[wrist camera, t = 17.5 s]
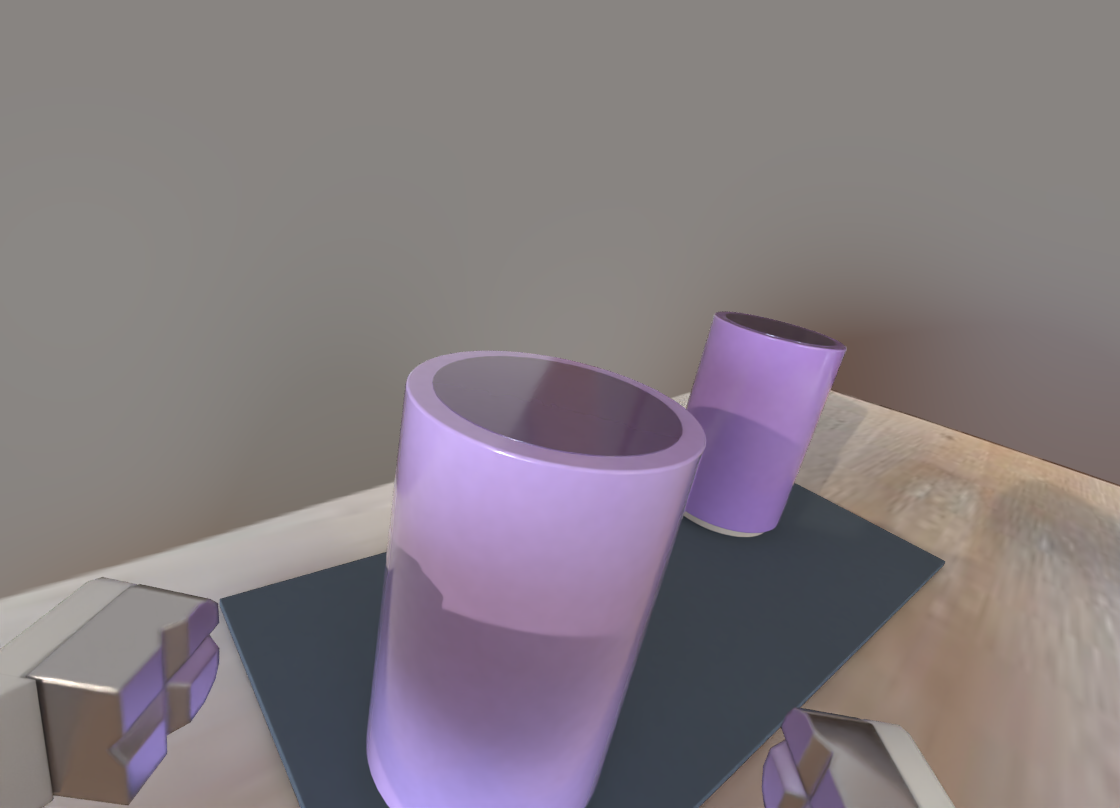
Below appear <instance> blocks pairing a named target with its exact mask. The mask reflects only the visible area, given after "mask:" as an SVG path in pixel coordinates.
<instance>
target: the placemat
mask: <svg viewBox="0 0 1120 808" xmlns="http://www.w3.org/2000/svg"><path fill="white" fill-rule="evenodd" d="M386 553H387V552H385V553H381V554H378V555H374V556H371V557H367V558H364V559H360V560H357V561H353V562H350V563H346V564H342V565H339V566H335V567H332V568H328V569H325V570H321V571H318V572H314V573H311V574H307V575H303V576H300V577H296V578H293V579H289V580H286V581H282V582H279V583H275V584H271V585H268V586H264V587H261V588H257V589H254V590H250V591H247V592H243V593H240V594H236V595H232V596H229V597H225V598H222V599H220V608H221V610H222V613H223V615H224V618H225V620H226V623H227V625H228V628H229V630H230V633H231V635H232V638H233V640H234V643H235V645H236V648H237V650H238V653H239V655H240V658H241V660H242V663H243V665H244V668H245V670H246V673H247V675H248V678H249V680H250V683H251V685H252V688H253V690H254V693H255V695H256V698H257V700H258V703H259V705H260V708H261V710H262V712H263V715H264V717H265V720H266V722H267V725H268V727H269V730H270V732H271V735H272V737H273V740H274V742H275V745H276V747H277V750H278V752H279V755H280V757H281V760H282V762H283V765H284V767H285V770H286V772H287V775H288V777H289V780H290V782H291V785H292V787H293V790H294V792H295V795H296V797H297V800H298V802H299V805H300V807H301V808H389V806H388V805H387V804H386V802H385V801H384V799H383V797H382V796H381V794H380V793H379V791H378V789H377V787H376V784H375V782H374V780H373V777H372V775H371V771H370V768H369V764H368V760H367V750H366V734H367V723H368V714H369V705H370V696H371V687H372V678H373V669H374V660H375V651H376V643H377V634H378V625H379V616H380V607H381V598H382V589H383V580H384V571H385V562H386ZM944 564H945V561H944V560H942V559H940V558H938V557H936V556H934V555H932V554H930V553H928V552H926V551H924V550H922V549H921V548H919V547H917V546H915V545H913V544H911V543H909V542H907V541H905V540H903V539H901V538H899V537H897V536H896V535H894V534H892V533H890V532H888V531H886V530H884V529H882V528H880V527H878V526H876V525H874V524H872V523H871V522H869V521H867V520H865V519H863V518H861V517H859V516H857V515H855V514H853V513H851V512H849V511H847V510H846V509H844V508H842V507H840V506H838V505H836V504H834V503H832V502H830V501H828V500H826V499H824V498H822V497H821V496H819V495H817V494H815V493H813V492H811V491H809V490H807V489H805V488H803V487H801V486H799V485H797V484H796V483H794V486H793V488H792V491H791V493H790V496H789V498H788V501H787V504H786V506H785V509H784V511H783V514H782V516H781V519H780V521H779V524H778V525H777V526H776V527H775V528H774V529H772V530H770V531H768V532H764V533H763V534H761V535H758V536H754V537H736V536H730V535H725V534H721V533H718V532H715V531H712V530H710V529H707V528H705V527H702V526H700V525H698V524H696V523H695V522H693V521H691V520H690V519H688V518H687V517H685V516H683V519H682V522H681V525H680V528H679V531H678V534H677V538H676V541H675V544H674V547H673V550H672V553H671V556H670V559H669V562H668V566H667V569H666V572H665V575H664V578H663V581H662V584H661V587H660V591H659V594H658V597H657V600H656V603H655V606H654V609H653V612H652V615H651V619H650V622H649V625H648V628H647V631H646V634H645V637H644V640H643V644H642V647H641V650H640V653H639V656H638V659H637V662H636V665H635V668H634V672H633V675H632V678H631V681H630V684H629V687H628V690H627V693H626V697H625V700H624V703H623V706H622V709H621V712H620V715H619V718H618V721H617V725H616V728H615V731H614V734H613V737H612V740H611V743H610V746H609V750H608V753H607V756H606V759H605V762H604V765H603V768H602V771H601V774H600V778H599V780H598V783H597V786H596V788H595V791H594V793H593V795H592V797H591V798H590V800H589V802H588V804H587V805H586V807H585V808H699V807H700V806H701V805H702V804H703V803H704V802H705V801H706V800H707V799H708V798H709V797H710V796H711V795H712V794H713V793H714V792H715V791H716V790H717V789H718V788H719V787H720V786H721V785H722V784H723V783H724V782H725V781H726V780H727V779H728V778H729V777H730V776H731V775H732V774H733V773H734V772H735V771H736V770H737V769H738V768H739V767H740V766H741V765H742V764H743V763H744V762H745V761H746V760H747V759H748V758H749V757H750V756H751V755H752V754H753V753H754V752H755V751H756V750H757V749H758V748H759V747H760V746H761V745H762V744H763V743H764V742H765V741H766V740H767V739H768V738H769V737H771V736H772V735H773V734H774V733H775V732H776V731H777V730H778V729H779V728H780V727H781V724H782V722H783V720H784V718H785V716H786V714H787V713H788V712H789V711H790V710H791V709H793V708H794V707H798V708H800V707H801V706H802V705H803V704H804V703H805V702H806V701H807V700H808V699H809V698H810V697H811V696H812V695H813V694H814V693H815V692H816V691H817V690H818V689H819V688H820V687H821V686H822V685H823V684H824V683H825V682H826V681H827V680H828V679H829V678H830V677H831V676H832V675H833V674H834V673H835V672H836V671H837V670H838V669H839V668H840V667H841V666H842V665H843V664H844V663H845V662H846V661H847V660H848V659H849V658H850V657H851V656H852V655H853V654H854V653H855V652H856V651H858V650H859V649H860V648H861V647H862V646H863V645H864V644H865V643H866V642H867V641H868V640H869V639H870V638H871V637H872V636H873V635H874V634H875V633H876V632H877V631H878V630H879V629H880V628H881V627H882V626H883V625H884V624H885V623H886V622H887V621H888V620H889V619H890V618H891V617H892V616H893V615H894V614H895V613H896V612H897V611H898V610H899V609H900V608H901V607H902V606H903V605H904V604H905V603H906V602H907V601H908V600H909V599H910V598H911V597H912V596H913V595H914V594H915V593H916V592H917V591H918V590H919V589H920V588H921V587H922V586H923V585H924V584H925V583H926V582H927V581H928V580H929V579H930V578H931V577H932V576H933V575H934V574H935V573H936V572H937V571H938V570H939V569H940V568H941V567H942V566H943V565H944Z"/></svg>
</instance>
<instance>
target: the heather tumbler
mask: <svg viewBox="0 0 1120 808" xmlns="http://www.w3.org/2000/svg"><path fill="white" fill-rule="evenodd" d="M846 350H847V348H846V346H845V345H843V344H842V343H841V342H838V341H837V340H834V339H832V338H830V337H828V336H825V335H823V334H820V333H817V332H815V331H811V330H808V329H805V328H802V327H799V326H795V325H792V324H788V323H785V322H781V321H777V320H773V319H769V318H764V317H759V316H754V315H749V314H743V313H736V312H717V313H715V314H714V316H713V320H712V323H711V326H710V330H709V333H708V337H707V340H706V343H705V346H704V350H703V353H702V356H701V360H700V363H699V367H698V370H697V373H696V376H695V380H694V383H693V387H692V390H691V393H690V396H689V400H688V403H687V407H686V410H688V411H689V412H690V413H691V414H692V415H693V416H694V417H695V418H696V419H697V420H698V422H699V423H700V425H701V426H702V428H703V430H704V433H705V436H706V447H705V450H704V453H703V456H702V460H701V463H700V466H699V469H698V472H697V475H696V478H695V481H694V485H693V488H692V491H691V494H690V497H689V500H688V503H687V506H686V509H685V513H684V516H685V517H687V518H688V519H690V520H691V521H693V522H695V523H696V524H698V525H700V526H702V527H705V528H707V529H710V530H712V531H715V532H718V533H721V534H725V535H730V536H736V537H754V536H758V535H761V534H763V533H764V532H768V531H770V530H772V529H774V528H775V527H776V526H777V525H778V524H779V521H780V519H781V516H782V514H783V511H784V509H785V506H786V504H787V501H788V498H789V496H790V493H791V491H792V488H793V486H794V483H795V480H796V478H797V475H798V473H799V470H800V468H801V465H802V463H803V460H804V457H805V455H806V452H807V450H808V447H809V445H810V442H811V440H812V437H813V434H814V432H815V429H816V427H817V424H818V422H819V419H820V416H821V414H822V411H823V409H824V406H825V404H826V401H827V399H828V396H829V393H830V391H831V388H832V385H833V383H834V381H835V378H836V376H837V373H838V370H839V368H840V365H841V363H842V360H843V358H844V355H845V352H846Z"/></svg>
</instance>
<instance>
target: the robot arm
mask: <svg viewBox="0 0 1120 808" xmlns="http://www.w3.org/2000/svg"><path fill="white" fill-rule="evenodd" d="M218 624H219V611H218V603H216V602H215V601H213V600H211V599H207V598H203V597H198V596H193V595H189V594H184V593H179V592H174V591H170V590H165V589H160V588H156V587H151V586H146V585H141V584H139V585H137V584H133V583H128V582H123V581H119V580H114V579H109V578H105V577H101V578H98V579H95V580H91V581H88V582H87V583H85V584H84V585H83V586H81V587H80V588H79V589H77V590H76V591H75V592H74V593H72V594H71V595H70V596H68V597H67V598H66V599H65V600H63V601H62V602H61V603H59V604H58V605H57V606H55V607H54V608H53V609H52V610H50V611H49V612H48V613H46V614H45V615H44V616H43V617H41V618H40V619H39V620H37V621H36V622H35V623H34V624H32V625H31V626H30V627H28V628H27V629H26V630H24V631H23V632H22V633H21V634H19V635H18V636H17V637H15V638H14V639H13V640H12V641H10V642H9V643H8V644H6V645H5V646H4V647H2V648H1V649H0V808H42V807H44V806H45V805H47V804H48V803H50V802H51V801H52V800H53V799H54V798H53V795H55V796H63V797H70V798H77V799H84V800H92V801H99V802H106V803H114V804H121V805H129V804H130V803H131V801H132V800H133V799H134V797H135V796H136V794H137V793H138V792H139V790H140V789H141V788H142V786H143V785H144V784H145V782H146V781H147V780H148V778H149V777H150V776H151V774H152V773H153V772H154V770H155V769H156V768H157V766H158V765H159V764H160V762H161V761H162V760H163V758H164V757H165V756H166V754H167V735H169V734H170V733H172V732H174V731H176V730H177V729H179V728H181V727H183V726H185V725H186V724H188V723H190V722H191V721H192V719H193V718H194V716H195V715H196V714H197V712H198V711H199V709H200V708H201V707H202V705H203V704H204V702H205V700H206V698H207V696H208V694H209V692H210V690H211V687H212V685H213V683H214V681H215V678H216V674H217V669H218V665H219V647H218V646H217V645H216V643H215V642H214V641H213V639H212V638H211V637H210V635H209V634H210V633H211V632H212V631H213V630H214V628H215V627H216V626H217V625H218ZM781 728H782V731H783V734H784V736H785V740H783V741H782V742H780V743H779V744H777V745H775V746H774V747H772V748H770V750H769V753H768V755H767V758H766V760H765V763H764V765H763V776H762V793H763V801H764V806H765V808H955V806H954V805H953V803H952V801H951V800H950V798H949V797H948V795H947V793H946V792H945V790H944V789H943V787H942V785H941V784H940V782H939V781H938V779H937V777H936V776H935V774H934V772H933V771H932V769H931V768H930V766H929V764H928V763H927V761H926V760H925V758H924V756H923V755H922V753H921V752H920V750H919V748H918V747H917V745H916V744H915V742H914V740H913V739H912V737H911V736H910V734H909V733H908V732H907V731H906V730H904V729H903V728H902V727H901V726H900V725H896V724H890V723H885V722H879V721H873V720H867V719H862V720H861V719H859V718H855V717H849V716H843V715H838V714H832V713H826V712H820V711H815V710H809V709H803V708H798V707H794V708H793V709H791V710H790V711H789V712H788V713H787V714H786V716H785V718H784V720H783V722H782V724H781Z"/></svg>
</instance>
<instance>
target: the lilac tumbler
mask: <svg viewBox="0 0 1120 808" xmlns="http://www.w3.org/2000/svg"><path fill="white" fill-rule="evenodd" d="M705 447H706V436H705V433H704V430H703V428H702V426H701V425H700V423H699V422H698V420H697V419H696V418H695V417H694V416H693V415H692V414H691V413H690V412H689V411H688V410H686V409H685V408H684V407H683V406H681V405H680V404H678V403H677V402H676V401H674V400H672V399H671V398H669V397H667V396H666V395H664V394H662V393H660V392H659V391H657V390H655V389H653V388H651V387H649V386H646V385H644V384H642V383H639V382H638V381H635V380H633V379H630V378H628V377H625V376H622V375H619V374H617V373H614V372H611V371H608V370H604V369H601V368H598V367H595V366H590V365H587V364H583V363H579V362H575V361H571V360H566V359H561V358H556V357H551V356H544V355H538V354H530V353H522V352H509V351H469V352H459V353H451V354H447V355H442V356H438V357H435V358H432V359H429V360H427V361H425V362H423V363H421V364H419V365H418V366H416V367H415V368H414V369H413V370H412V371H411V373H410V374H409V375H408V378H407V380H406V384H405V393H404V402H403V411H402V420H401V429H400V438H399V447H398V455H397V464H396V473H395V482H394V491H393V500H392V509H391V518H390V527H389V536H388V545H387V553H386V562H385V571H384V580H383V589H382V598H381V607H380V616H379V625H378V634H377V643H376V651H375V660H374V669H373V678H372V687H371V696H370V705H369V714H368V723H367V734H366V750H367V760H368V764H369V768H370V771H371V775H372V777H373V780H374V782H375V784H376V787H377V789H378V791H379V793H380V794H381V796H382V797H383V799H384V801H385V802H386V804H387V805H388V806H389V808H585V807H586V805H587V804H588V802H589V800H590V798H591V797H592V795H593V793H594V791H595V788H596V786H597V783H598V780H599V778H600V774H601V771H602V768H603V765H604V762H605V759H606V756H607V753H608V750H609V746H610V743H611V740H612V737H613V734H614V731H615V728H616V725H617V721H618V718H619V715H620V712H621V709H622V706H623V703H624V700H625V697H626V693H627V690H628V687H629V684H630V681H631V678H632V675H633V672H634V668H635V665H636V662H637V659H638V656H639V653H640V650H641V647H642V644H643V640H644V637H645V634H646V631H647V628H648V625H649V622H650V619H651V615H652V612H653V609H654V606H655V603H656V600H657V597H658V594H659V591H660V587H661V584H662V581H663V578H664V575H665V572H666V569H667V566H668V562H669V559H670V556H671V553H672V550H673V547H674V544H675V541H676V538H677V534H678V531H679V528H680V525H681V522H682V519H683V516H684V513H685V509H686V506H687V503H688V500H689V497H690V494H691V491H692V488H693V485H694V481H695V478H696V475H697V472H698V469H699V466H700V463H701V460H702V456H703V453H704V450H705Z"/></svg>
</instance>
